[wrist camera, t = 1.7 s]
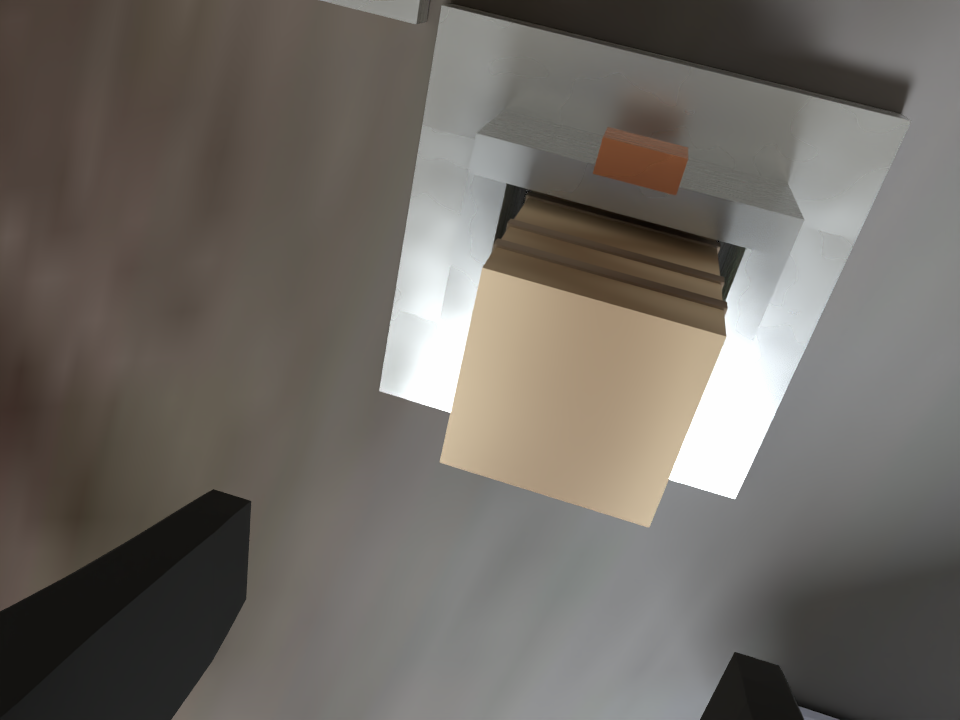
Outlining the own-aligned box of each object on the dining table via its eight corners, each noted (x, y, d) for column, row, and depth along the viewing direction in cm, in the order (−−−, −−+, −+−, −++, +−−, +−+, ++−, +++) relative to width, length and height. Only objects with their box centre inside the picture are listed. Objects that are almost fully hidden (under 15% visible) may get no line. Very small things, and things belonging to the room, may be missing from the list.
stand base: (901, 114, 17) (955, 153, 13) (733, 481, 21) (742, 576, 18) (451, 3, 18) (397, 13, 14) (388, 377, 22) (338, 449, 19)
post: (716, 212, 18) (731, 334, 12) (661, 364, 20) (650, 530, 14) (545, 167, 18) (480, 263, 13) (507, 319, 20) (437, 463, 15)
